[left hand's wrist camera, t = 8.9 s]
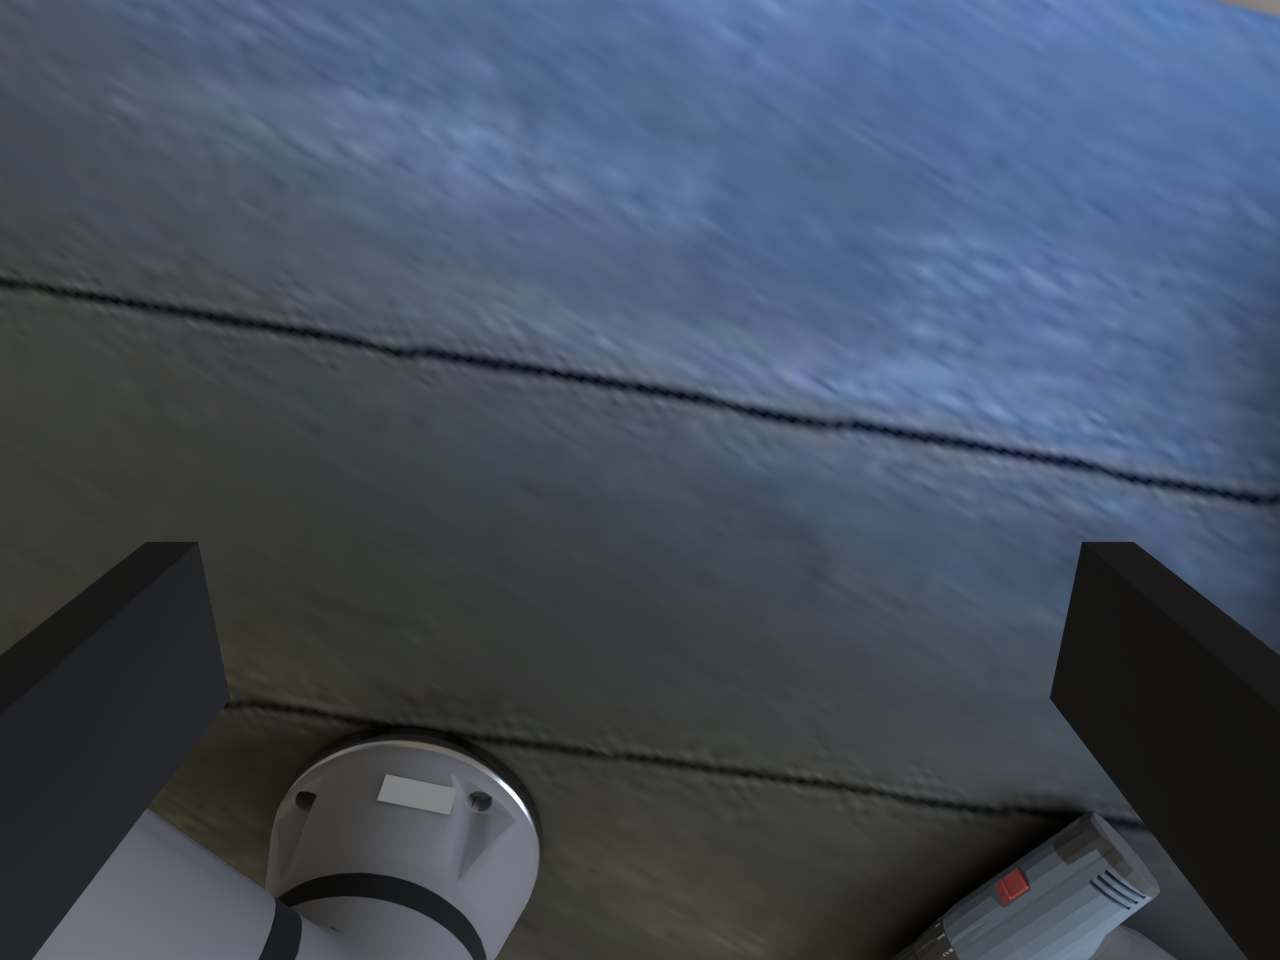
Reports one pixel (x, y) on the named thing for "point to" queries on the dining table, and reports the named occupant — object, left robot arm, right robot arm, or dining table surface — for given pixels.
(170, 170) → the dining table surface
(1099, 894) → the power drill
